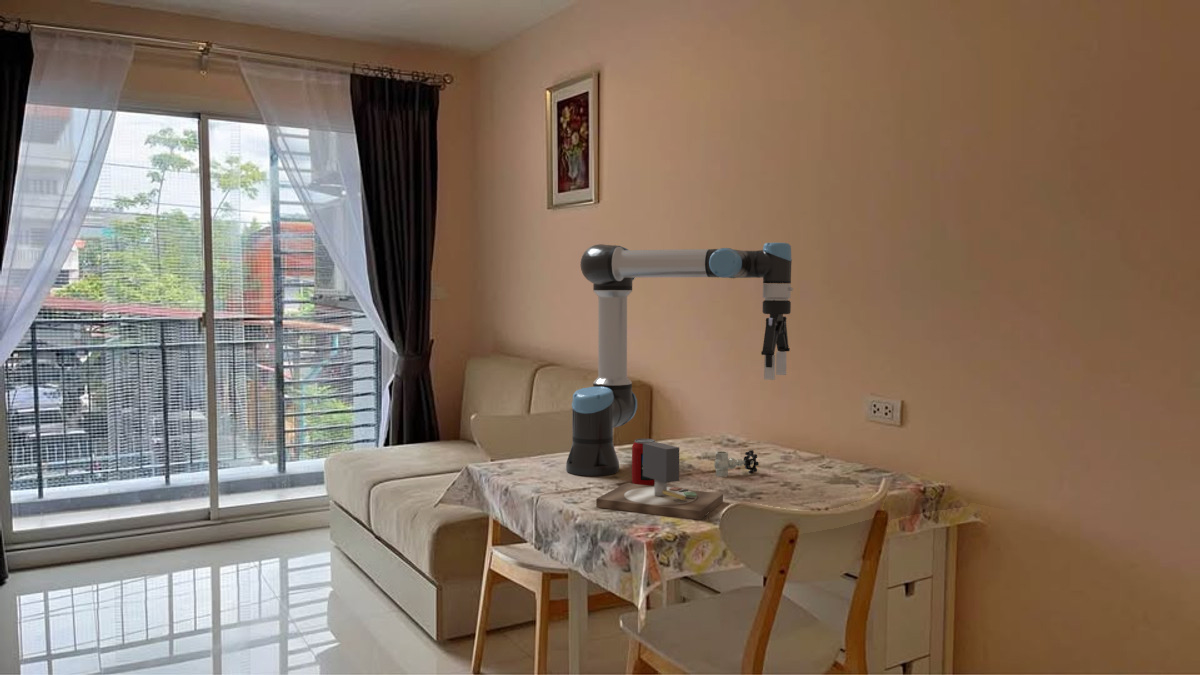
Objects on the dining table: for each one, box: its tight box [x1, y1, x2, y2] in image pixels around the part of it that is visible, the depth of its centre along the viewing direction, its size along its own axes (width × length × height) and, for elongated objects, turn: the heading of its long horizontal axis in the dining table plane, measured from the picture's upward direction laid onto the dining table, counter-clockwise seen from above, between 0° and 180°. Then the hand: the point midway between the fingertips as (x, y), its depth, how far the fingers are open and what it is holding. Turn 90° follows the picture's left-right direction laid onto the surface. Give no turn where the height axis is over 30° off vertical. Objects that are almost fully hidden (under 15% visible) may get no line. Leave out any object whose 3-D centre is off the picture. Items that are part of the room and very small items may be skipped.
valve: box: [713, 449, 760, 478], centre depth 240 cm, size 7×7×12 cm
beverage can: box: [631, 438, 656, 486], centre depth 227 cm, size 7×7×12 cm
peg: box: [643, 441, 685, 500], centre depth 205 cm, size 13×4×12 cm, turn 35°
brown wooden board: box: [595, 482, 724, 521], centre depth 207 cm, size 26×18×2 cm
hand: (775, 377), depth 234 cm, fingers open, 13 cm apart
